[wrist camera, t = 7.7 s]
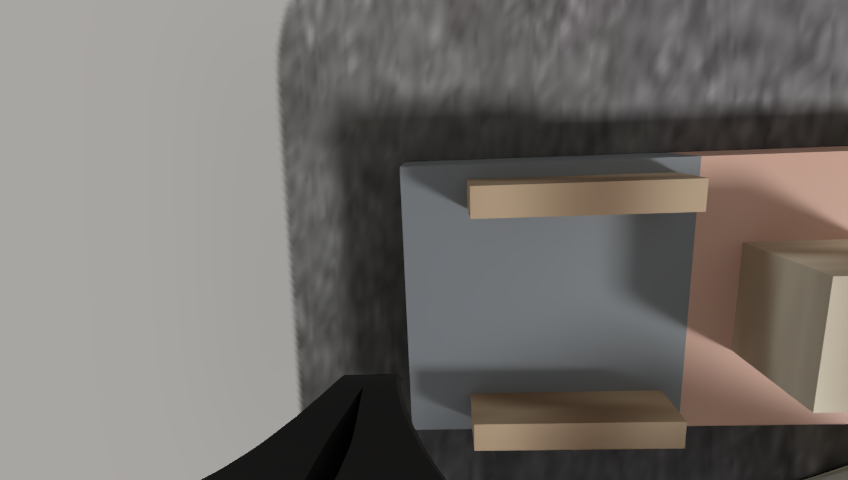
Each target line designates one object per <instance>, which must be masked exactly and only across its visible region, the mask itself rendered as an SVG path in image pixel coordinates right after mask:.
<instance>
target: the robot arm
mask: <svg viewBox="0 0 848 480" xmlns="http://www.w3.org/2000/svg"><path fill="white" fill-rule="evenodd" d="M202 480H446V479H445V478H444V476H443V475H442V474H441V472H440V471H439V470H438V468H437V467H436V465H435V464H434V462H433V461H432V459H431V458H430V456H429V454H428V453H427V451H426V449H425V448H424V446H423V444H422V442H421V440H420V438H419V436H418V434H417V432H416V430H415V428H414V426H413V423H412V421H411V418H410V416H409V413H408V411H407V408H406V405H405V401H404V389H403V378H402V377H400V376H399V375H398V374H374V375H344V376H343V377H341V378H340V379H339V380H338V381H337V382H335V383H334V384H333V385H332V386H331V387H330V388H329V389H328V390H327V391H325V392H324V393H323V394H322V395H321V396H320V397H319V398H318V399H316V400H315V401H314V402H313V403H312V404H311V405H309V406H308V407H307V408H306V409H305V410H304V411H302V412H301V413H300V414H299V415H298V416H297V417H295V418H294V419H293V420H291V421H290V422H289V423H287V424H286V425H285V426H284V427H282V428H281V429H280V430H278V431H277V432H276V433H274V434H273V435H272V436H271V437H269V438H268V439H267V440H265V441H264V442H263V443H261V444H260V445H258V446H257V447H256V448H254V449H252V450H251V451H249V452H248V453H246V454H245V455H244V456H242V457H240V458H238V459H237V460H235V461H234V462H232V463H230V464H229V465H227V466H226V467H224V468H222V469H220V470H219V471H217V472H215V473H213V474H211V475H209V476H207V477H205V478H204V479H202Z"/></svg>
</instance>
